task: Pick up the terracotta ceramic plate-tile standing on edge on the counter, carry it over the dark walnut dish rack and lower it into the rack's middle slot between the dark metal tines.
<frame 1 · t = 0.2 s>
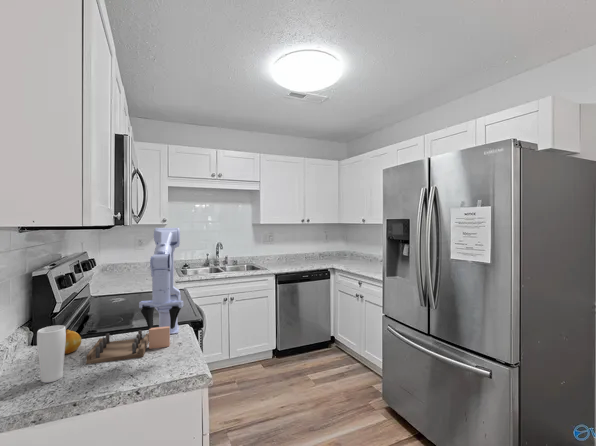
hand: (161, 327, 110), 10 cm above the worktop, fingers open, 7 cm apart
plate: (159, 346, 118), on the worktop
rack: (120, 351, 114), on the worktop
drinking glass: (52, 379, 94), on the worktop
fruit: (67, 352, 114), on the worktop
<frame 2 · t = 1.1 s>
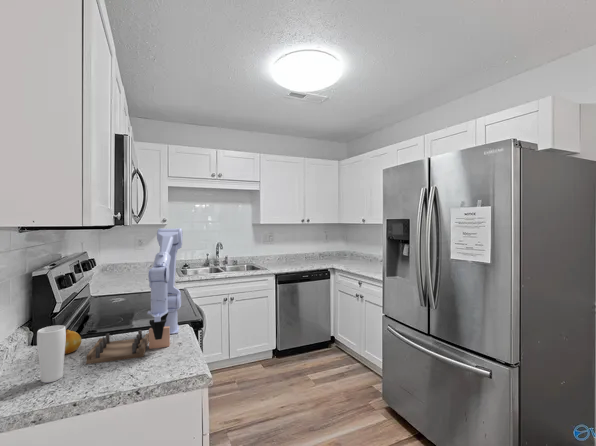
hand: (159, 335, 118), 4 cm above the worktop, fingers open, 7 cm apart
nothing on the worktop moved.
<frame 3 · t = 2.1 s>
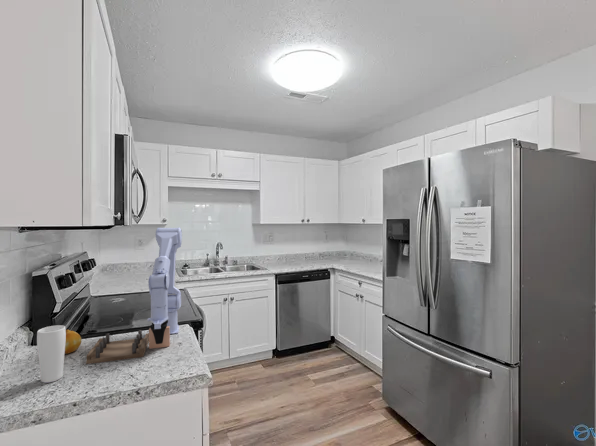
hand: (159, 342, 118), 2 cm above the worktop, fingers closed on plate, 2 cm apart
plate: (159, 346, 118), on the worktop, touching gripper
everything else where it was.
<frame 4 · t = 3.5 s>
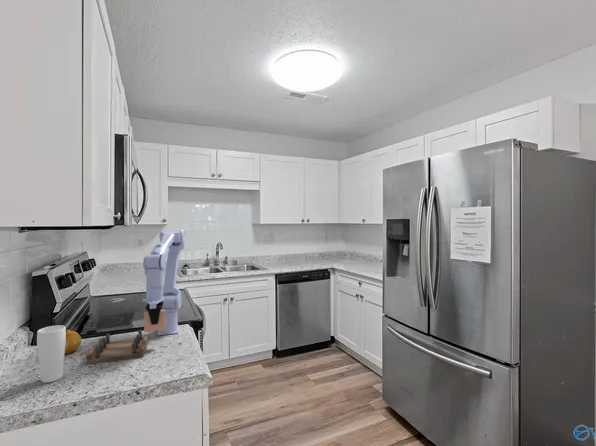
hand: (155, 323, 118), 9 cm above the worktop, fingers closed on plate
plate: (155, 330, 118), point 6 cm above the worktop, touching gripper
everything else where it was.
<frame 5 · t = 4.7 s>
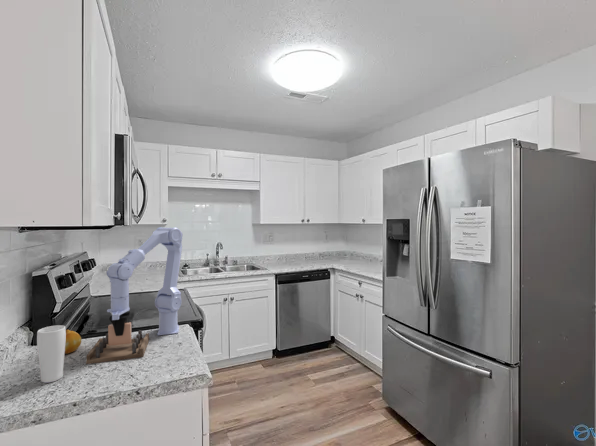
hand: (120, 334, 114), 6 cm above the worktop, fingers closed on plate, 2 cm apart
plate: (120, 343, 114), point 3 cm above the worktop, touching gripper
everything else where it was.
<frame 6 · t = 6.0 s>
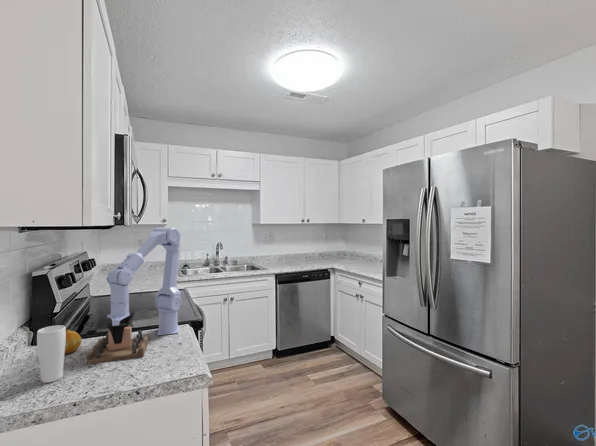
hand: (120, 339, 114), 4 cm above the worktop, fingers open, 7 cm apart
plate: (120, 347, 114), point 1 cm above the worktop, touching rack
everything else where it was.
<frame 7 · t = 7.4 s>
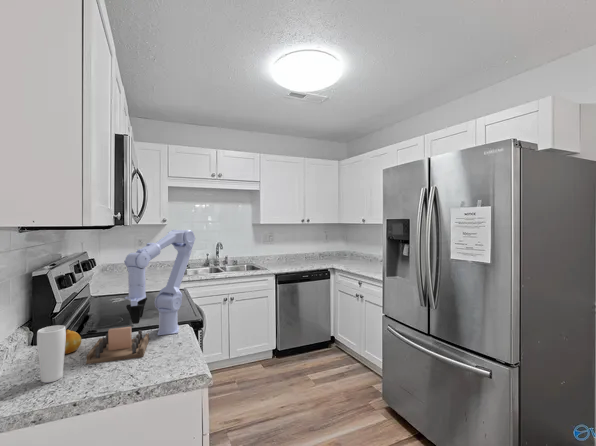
hand: (137, 320, 120), 9 cm above the worktop, fingers open, 7 cm apart
nothing on the worktop moved.
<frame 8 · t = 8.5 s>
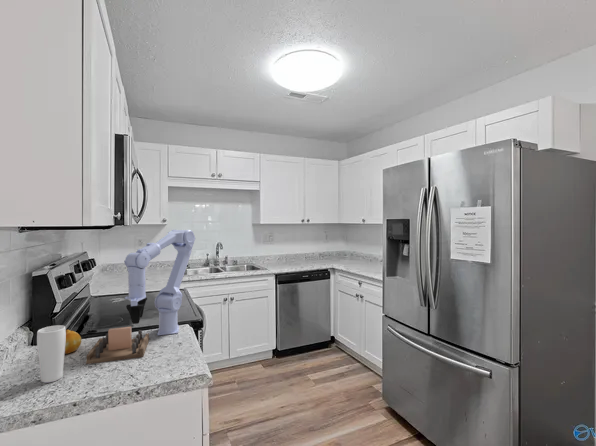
hand: (137, 320, 120), 9 cm above the worktop, fingers open, 7 cm apart
nothing on the worktop moved.
at the end: plate 0.1 cm off-centre on the rack, point 1.2 cm above the rack's base; plate tilted 0°; the gripper is holding nothing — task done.
